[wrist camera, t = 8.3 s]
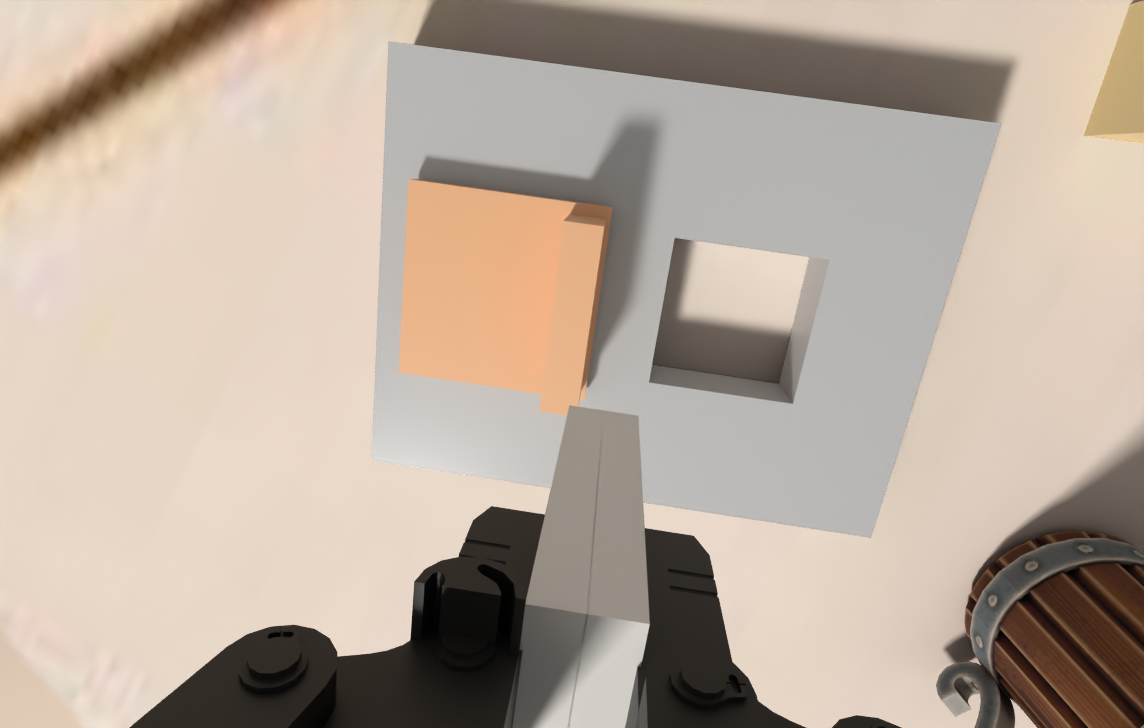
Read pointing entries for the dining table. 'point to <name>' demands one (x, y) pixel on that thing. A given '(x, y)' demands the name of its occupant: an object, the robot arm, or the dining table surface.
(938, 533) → the dining table surface
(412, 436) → the socket
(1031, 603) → the mug
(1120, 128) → the plug
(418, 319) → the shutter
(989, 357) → the dining table surface
